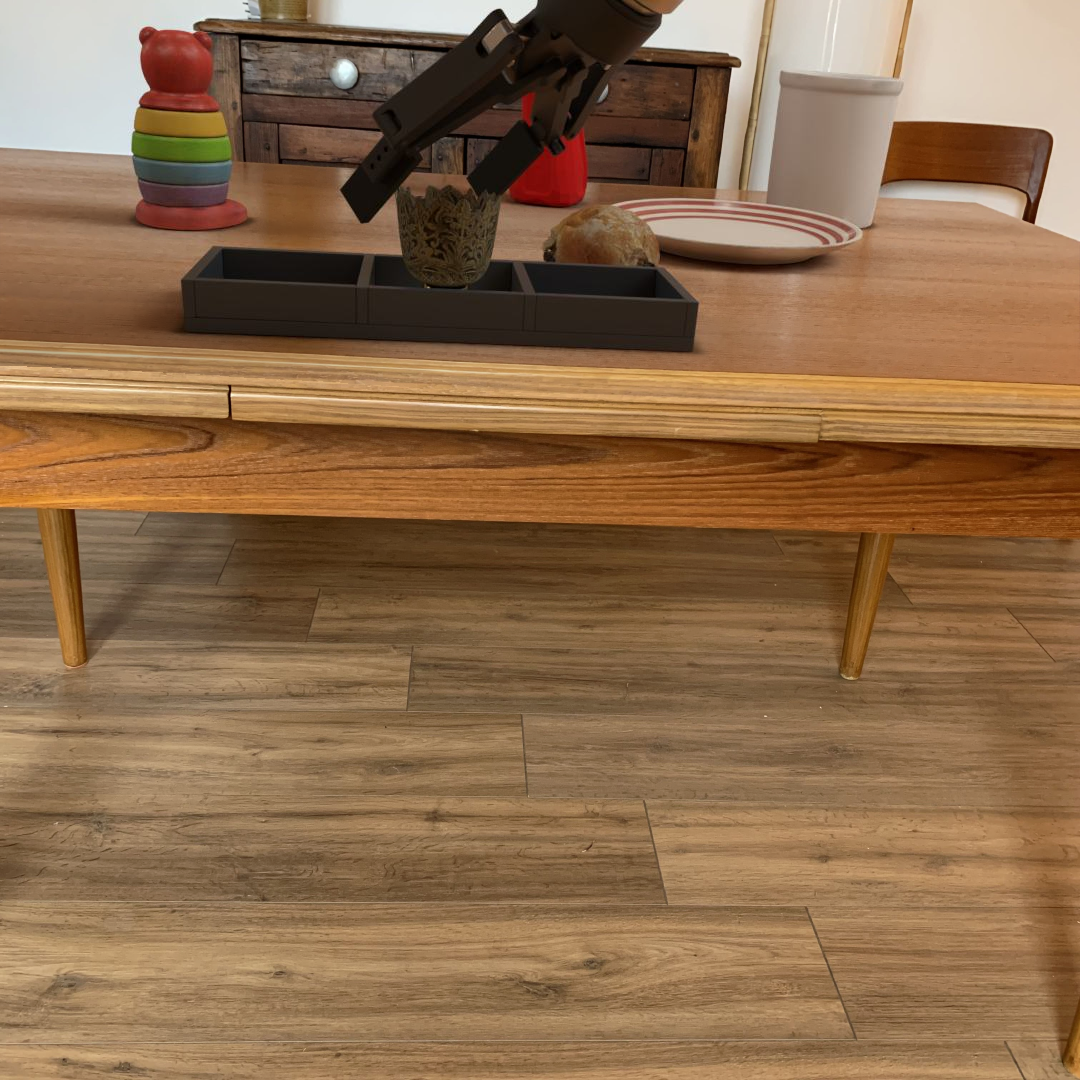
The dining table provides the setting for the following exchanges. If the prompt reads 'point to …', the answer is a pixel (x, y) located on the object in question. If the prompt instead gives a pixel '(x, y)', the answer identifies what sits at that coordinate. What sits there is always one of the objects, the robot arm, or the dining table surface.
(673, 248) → the dinner plate
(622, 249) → the bread roll
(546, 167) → the water bottle
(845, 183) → the utensil holder
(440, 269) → the cup
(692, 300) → the compartment tray
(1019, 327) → the dining table surface
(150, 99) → the stacking bear
